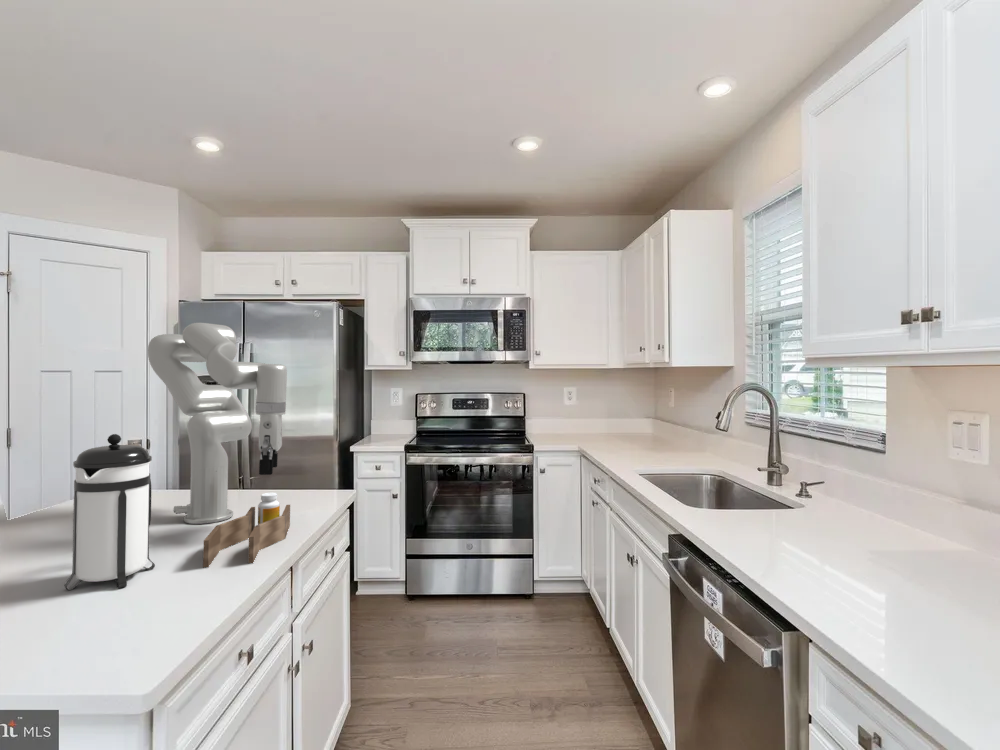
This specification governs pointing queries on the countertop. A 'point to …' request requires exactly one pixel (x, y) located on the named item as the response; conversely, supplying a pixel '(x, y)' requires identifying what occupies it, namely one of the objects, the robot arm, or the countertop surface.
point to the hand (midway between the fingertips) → (268, 470)
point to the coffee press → (111, 513)
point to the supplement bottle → (268, 507)
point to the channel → (246, 534)
